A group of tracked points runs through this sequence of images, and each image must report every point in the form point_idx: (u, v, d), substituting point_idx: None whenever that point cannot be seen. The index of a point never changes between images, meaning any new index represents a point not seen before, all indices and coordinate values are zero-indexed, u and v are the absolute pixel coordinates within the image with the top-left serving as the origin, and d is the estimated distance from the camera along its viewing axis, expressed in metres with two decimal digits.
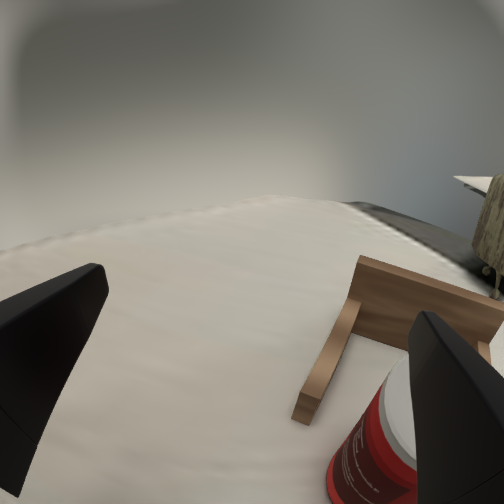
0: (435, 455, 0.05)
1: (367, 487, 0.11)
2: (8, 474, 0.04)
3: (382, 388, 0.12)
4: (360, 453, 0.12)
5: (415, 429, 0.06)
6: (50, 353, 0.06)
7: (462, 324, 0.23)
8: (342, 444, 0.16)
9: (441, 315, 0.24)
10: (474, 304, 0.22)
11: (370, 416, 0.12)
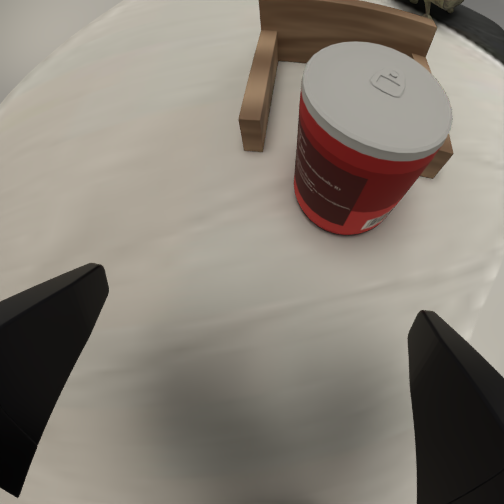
0: (435, 455, 0.05)
1: (328, 187, 0.16)
2: (8, 474, 0.04)
3: (302, 82, 0.13)
4: (307, 152, 0.15)
5: (415, 429, 0.06)
6: (50, 353, 0.06)
7: (390, 37, 0.21)
8: None
9: (364, 29, 0.21)
10: (396, 18, 0.18)
11: (301, 112, 0.14)
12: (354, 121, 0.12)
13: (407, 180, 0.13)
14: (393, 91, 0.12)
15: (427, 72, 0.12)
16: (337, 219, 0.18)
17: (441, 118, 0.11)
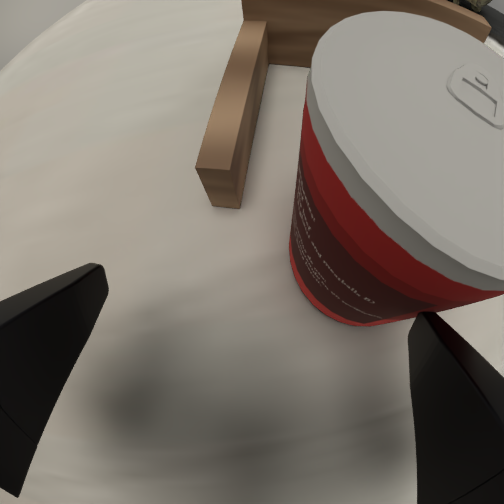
0: (435, 455, 0.05)
1: (352, 294, 0.08)
2: (8, 474, 0.04)
3: (308, 84, 0.06)
4: (315, 232, 0.08)
5: (415, 429, 0.06)
6: (50, 353, 0.06)
7: None
8: None
9: None
10: (439, 9, 0.11)
11: (305, 151, 0.06)
12: (439, 193, 0.04)
13: None
14: (491, 115, 0.05)
15: None
16: (357, 319, 0.11)
17: None
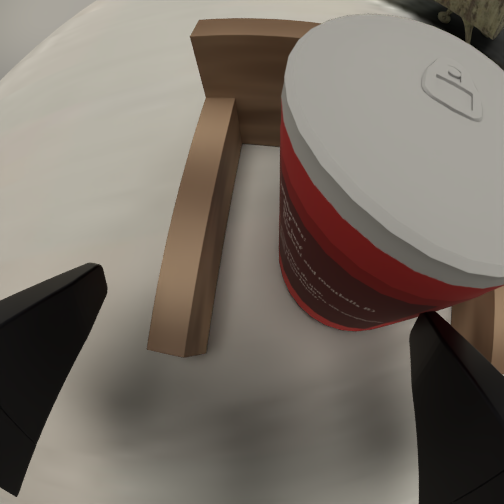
0: (437, 455, 0.05)
1: (351, 305, 0.08)
2: (7, 473, 0.04)
3: (283, 104, 0.06)
4: (307, 251, 0.08)
5: (417, 429, 0.06)
6: (49, 353, 0.06)
7: None
8: None
9: None
10: None
11: (288, 173, 0.06)
12: (429, 201, 0.04)
13: None
14: (469, 109, 0.05)
15: (497, 67, 0.05)
16: (358, 326, 0.11)
17: None
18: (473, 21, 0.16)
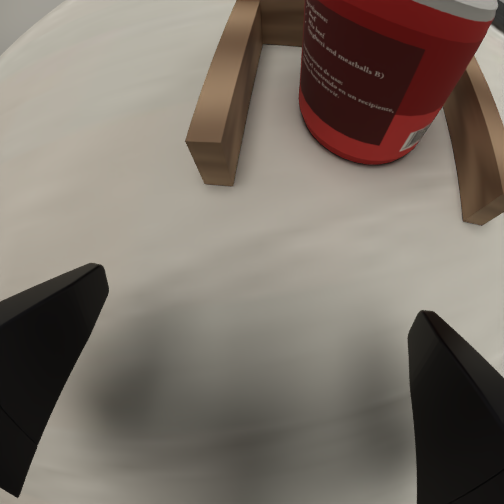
0: (435, 455, 0.05)
1: (365, 77, 0.09)
2: (8, 474, 0.04)
3: None
4: (329, 32, 0.09)
5: (415, 429, 0.06)
6: (50, 353, 0.06)
7: None
8: None
9: None
10: None
11: None
12: None
13: (465, 59, 0.07)
14: None
15: None
16: (373, 135, 0.12)
17: None
18: None
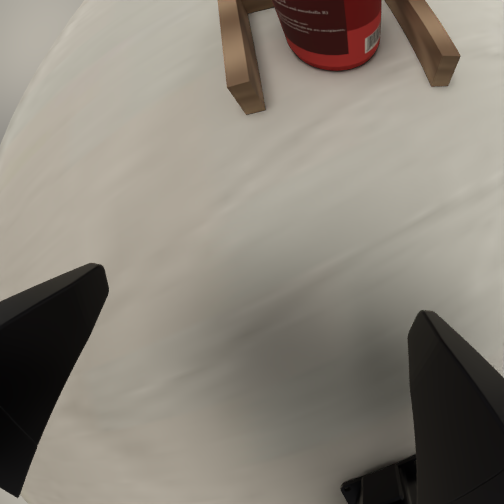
0: (435, 455, 0.05)
1: (318, 16, 0.14)
2: (8, 474, 0.04)
3: None
4: None
5: (415, 429, 0.06)
6: (50, 353, 0.06)
7: None
8: None
9: None
10: None
11: None
12: None
13: None
14: None
15: None
16: (341, 48, 0.17)
17: None
18: None
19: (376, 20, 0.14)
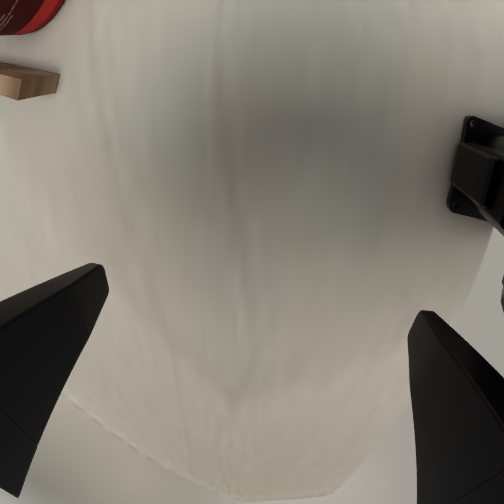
0: (435, 455, 0.05)
1: (0, 3, 0.08)
2: (8, 474, 0.04)
3: None
4: None
5: (415, 429, 0.06)
6: (50, 353, 0.06)
7: None
8: (0, 35, 0.12)
9: None
10: None
11: None
12: None
13: None
14: None
15: None
16: None
17: None
18: None
19: None
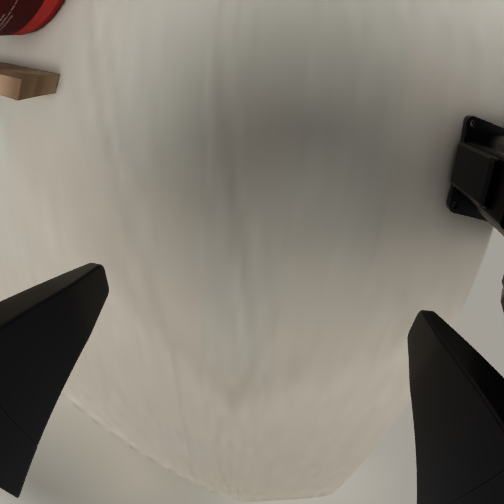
0: (435, 455, 0.05)
1: (0, 3, 0.08)
2: (8, 474, 0.04)
3: None
4: None
5: (415, 429, 0.06)
6: (50, 353, 0.06)
7: None
8: None
9: None
10: None
11: None
12: None
13: None
14: None
15: None
16: None
17: None
18: None
19: None
